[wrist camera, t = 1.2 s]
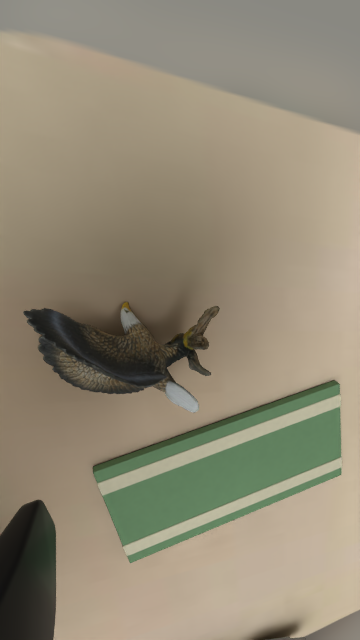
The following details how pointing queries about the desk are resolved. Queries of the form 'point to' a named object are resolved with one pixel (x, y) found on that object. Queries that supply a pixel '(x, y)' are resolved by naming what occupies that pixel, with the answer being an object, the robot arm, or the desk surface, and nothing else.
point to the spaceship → (288, 638)
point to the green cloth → (222, 470)
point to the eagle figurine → (118, 354)
